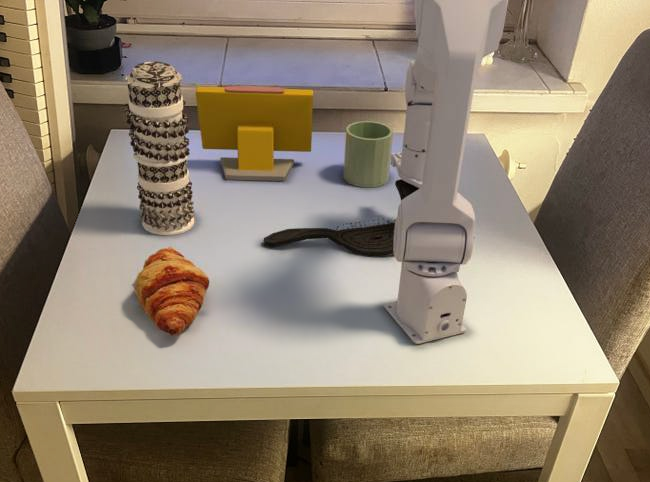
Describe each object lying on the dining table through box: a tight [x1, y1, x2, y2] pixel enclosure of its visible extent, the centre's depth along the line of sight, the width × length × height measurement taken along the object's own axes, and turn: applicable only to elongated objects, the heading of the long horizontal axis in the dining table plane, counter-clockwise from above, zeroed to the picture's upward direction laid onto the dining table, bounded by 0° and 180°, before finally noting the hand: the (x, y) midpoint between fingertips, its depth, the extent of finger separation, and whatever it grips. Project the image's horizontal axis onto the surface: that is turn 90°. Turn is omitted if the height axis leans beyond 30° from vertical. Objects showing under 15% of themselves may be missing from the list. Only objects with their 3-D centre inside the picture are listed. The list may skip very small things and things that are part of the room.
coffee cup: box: [343, 120, 394, 188], centre depth 138 cm, size 8×8×9 cm
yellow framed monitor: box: [195, 85, 314, 182], centre depth 136 cm, size 20×8×16 cm, turn 91°
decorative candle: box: [124, 61, 195, 236], centre depth 117 cm, size 9×9×25 cm
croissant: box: [134, 246, 210, 336], centre depth 106 cm, size 21×10×8 cm, turn 12°
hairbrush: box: [263, 217, 395, 257], centre depth 121 cm, size 8×4×25 cm
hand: (411, 223), depth 125 cm, fingers closed
